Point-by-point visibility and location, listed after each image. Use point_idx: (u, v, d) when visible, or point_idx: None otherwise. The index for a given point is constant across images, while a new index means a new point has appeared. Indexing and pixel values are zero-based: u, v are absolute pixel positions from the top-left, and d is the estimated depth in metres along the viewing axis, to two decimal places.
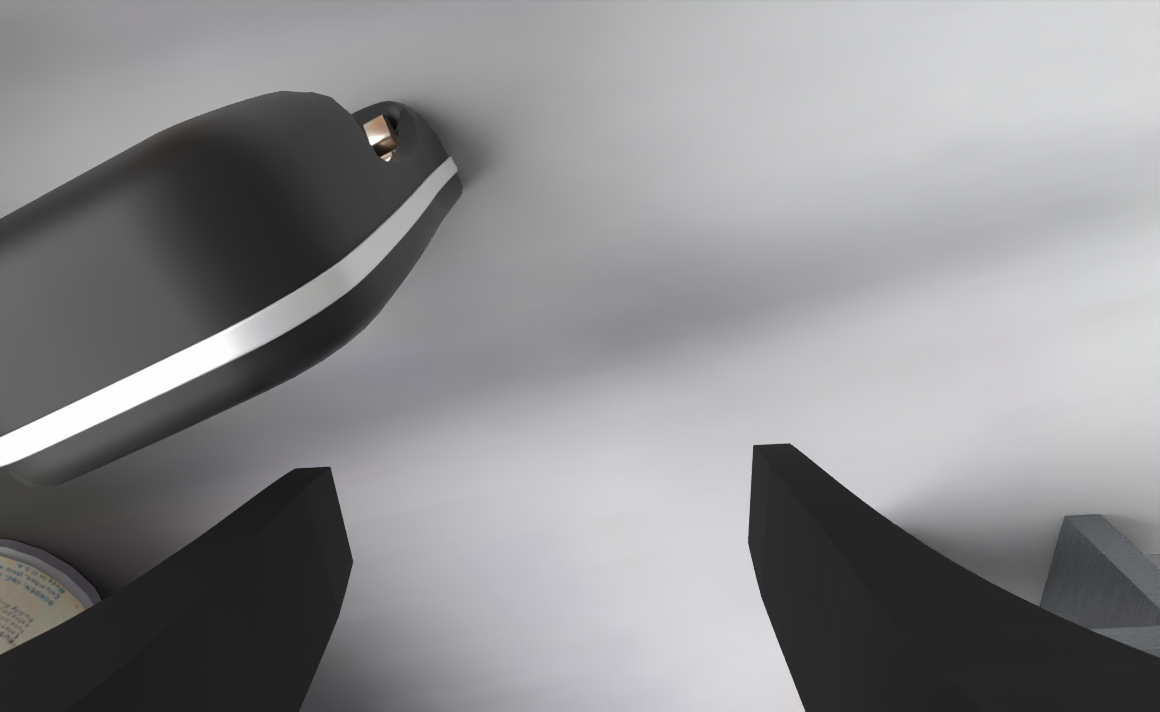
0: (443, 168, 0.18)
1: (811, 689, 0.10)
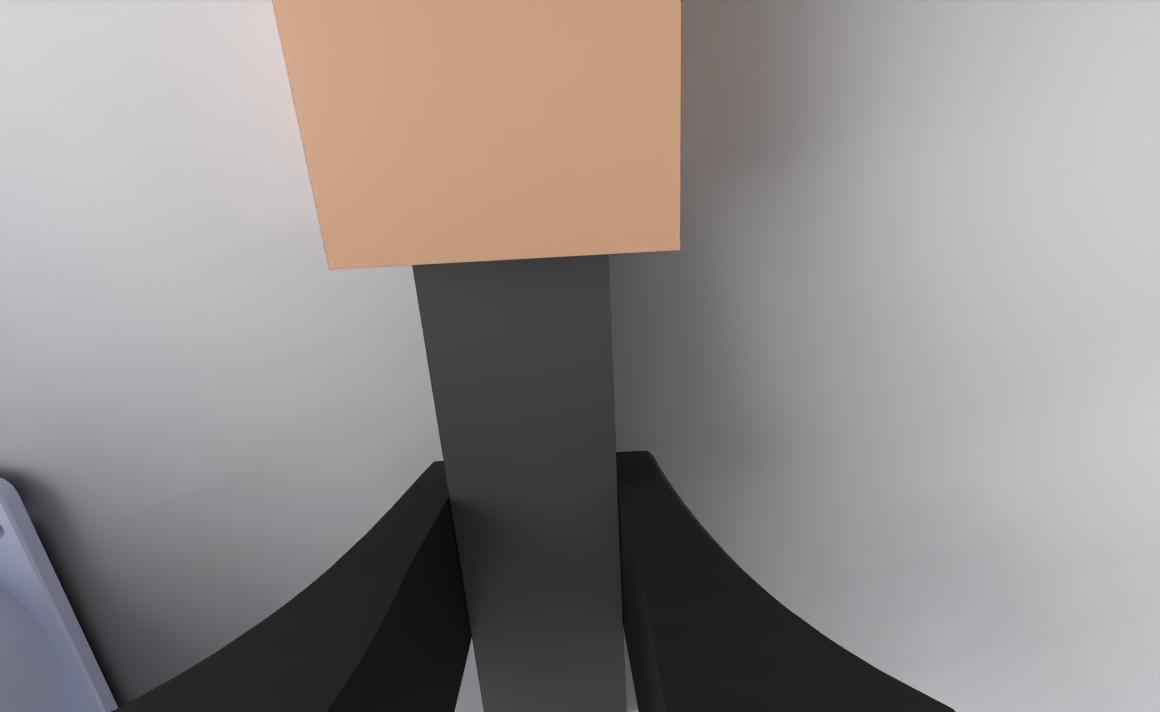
0: None
1: (640, 697, 0.10)
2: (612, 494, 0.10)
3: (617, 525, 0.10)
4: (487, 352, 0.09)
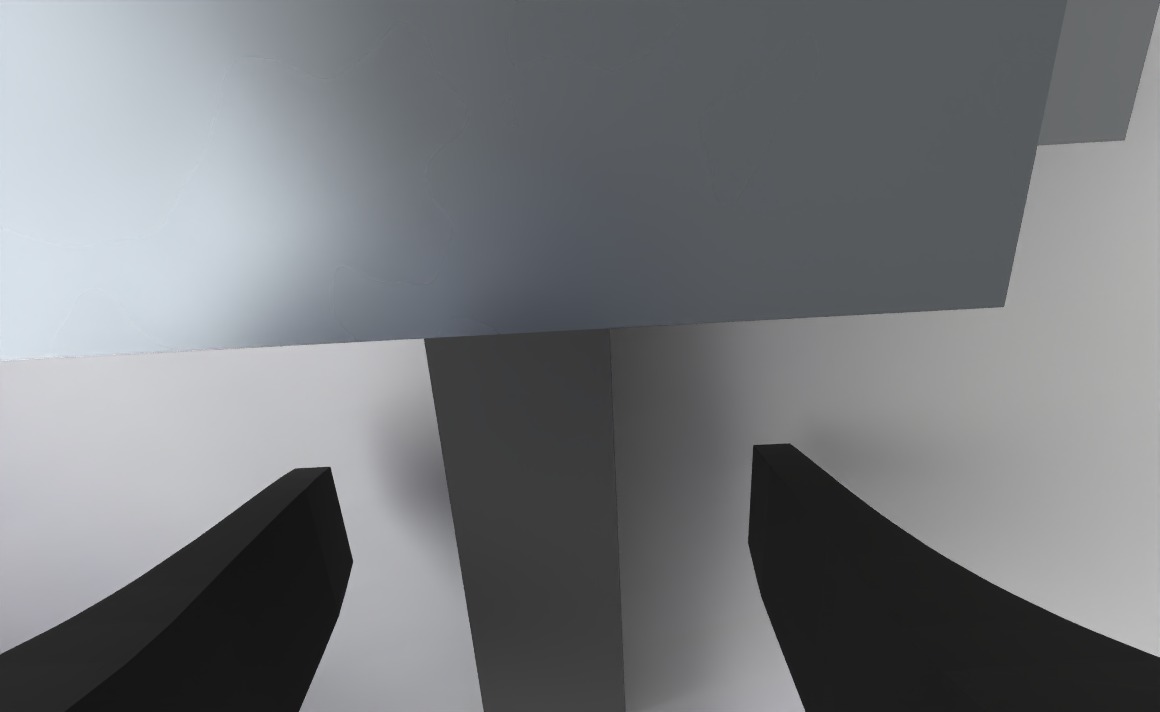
0: None
1: (811, 689, 0.10)
2: (611, 503, 0.10)
3: (616, 533, 0.10)
4: (488, 364, 0.09)
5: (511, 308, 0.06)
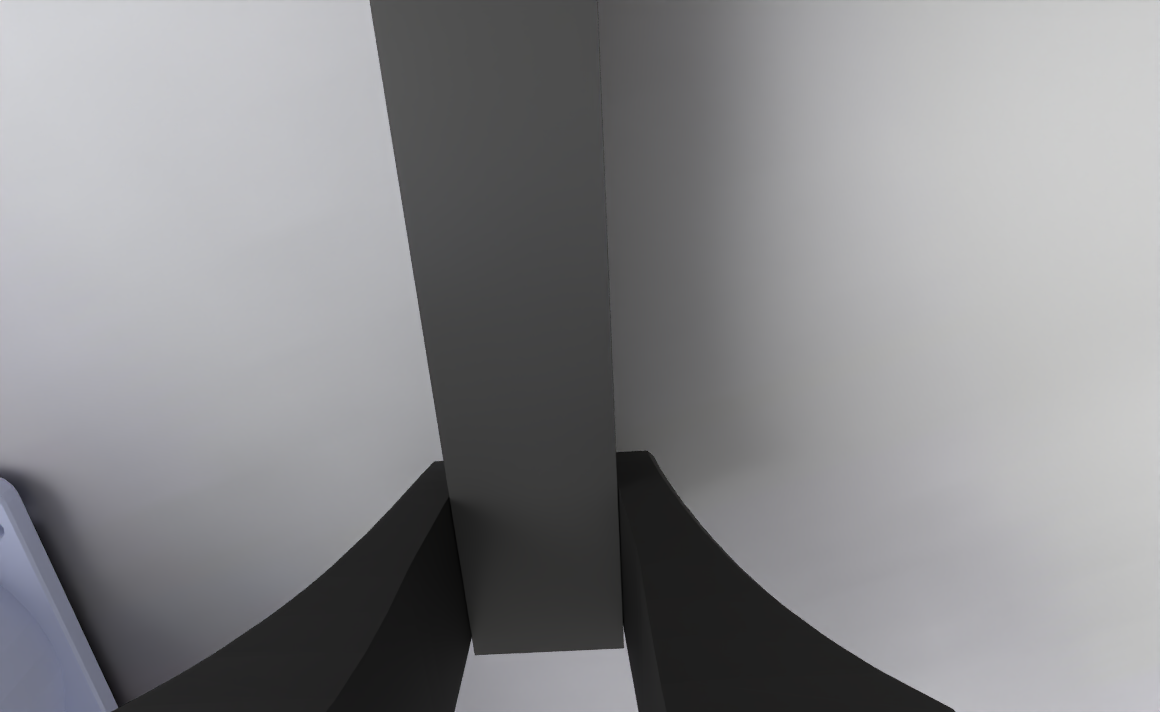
0: None
1: (640, 696, 0.10)
2: (594, 99, 0.08)
3: (601, 153, 0.08)
4: None
5: None
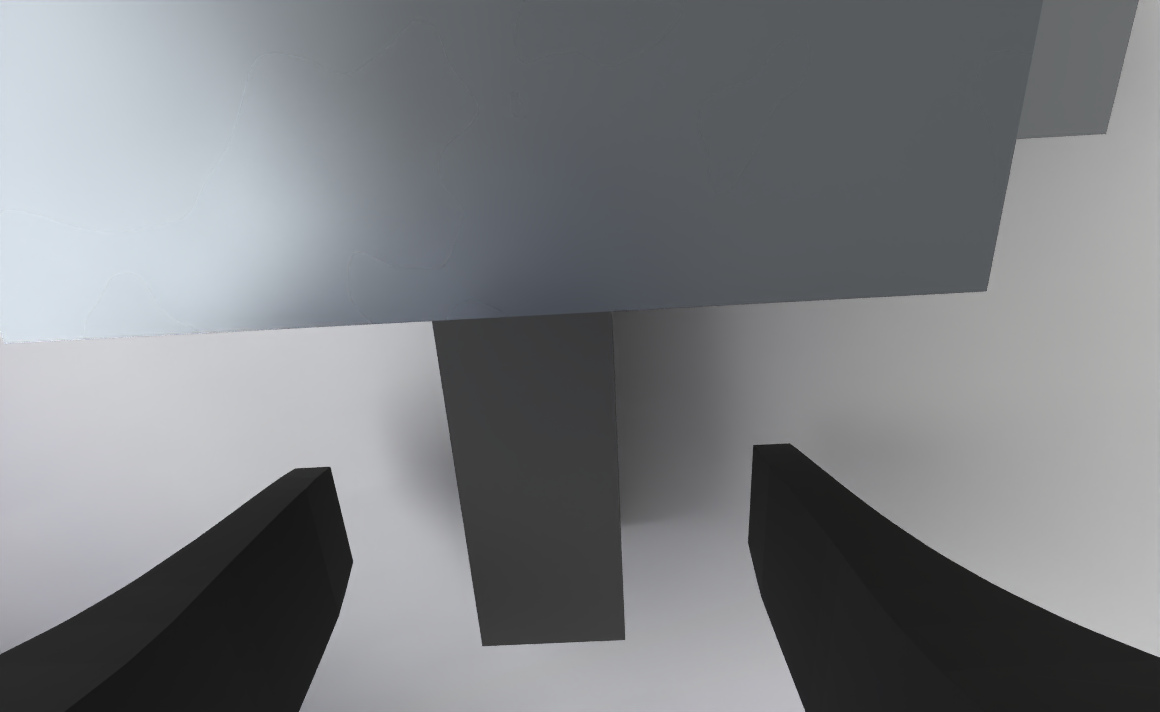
0: None
1: (811, 689, 0.10)
2: None
3: None
4: None
5: (519, 291, 0.06)
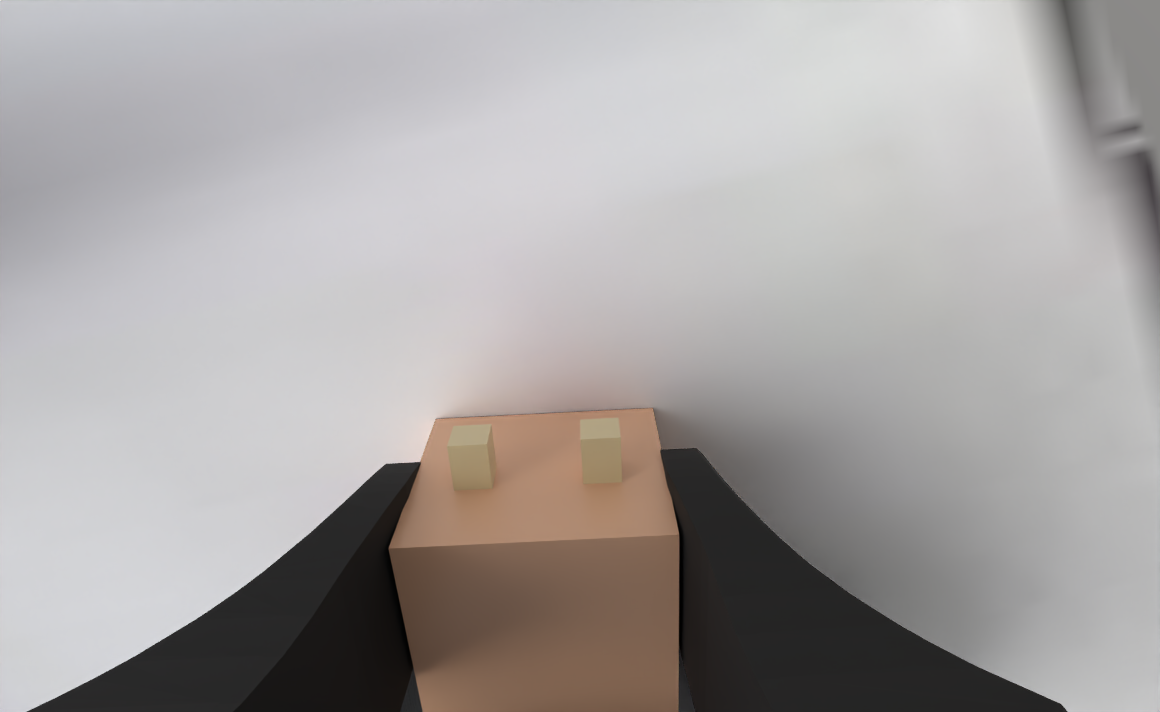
0: None
1: (698, 694, 0.10)
2: None
3: None
4: None
5: None
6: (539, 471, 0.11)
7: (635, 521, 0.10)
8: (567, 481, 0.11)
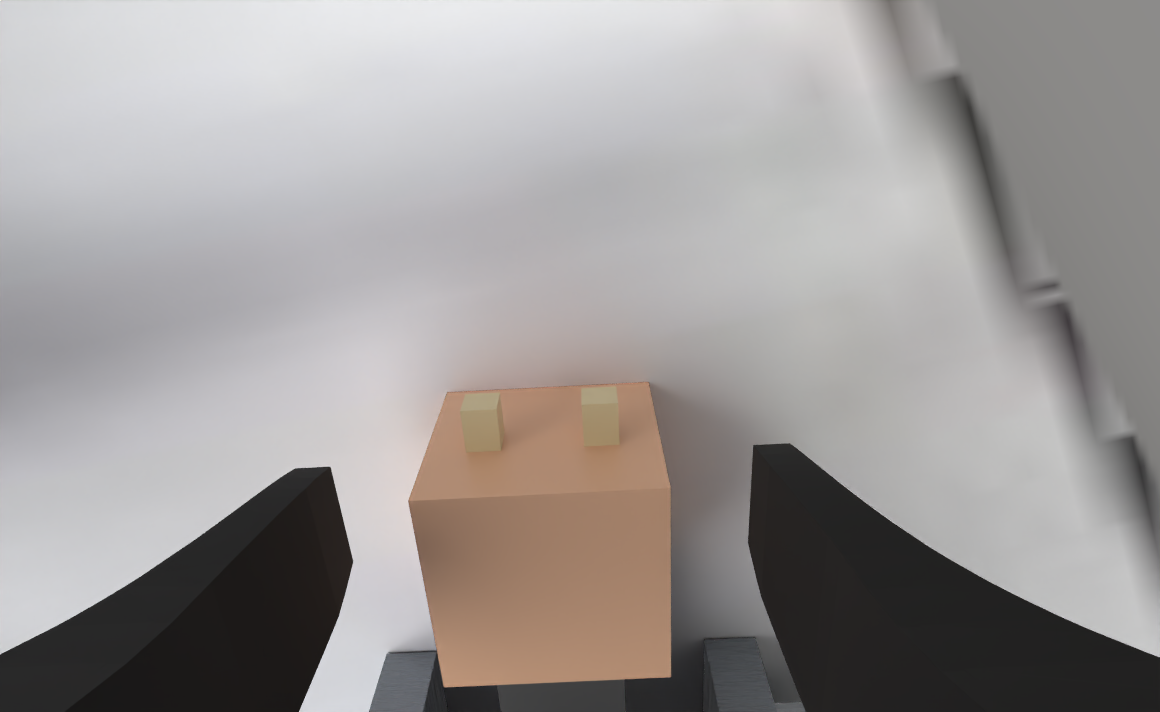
0: None
1: (811, 689, 0.10)
2: None
3: None
4: (541, 709, 0.13)
5: None
6: (543, 436, 0.12)
7: (630, 476, 0.11)
8: (569, 444, 0.12)
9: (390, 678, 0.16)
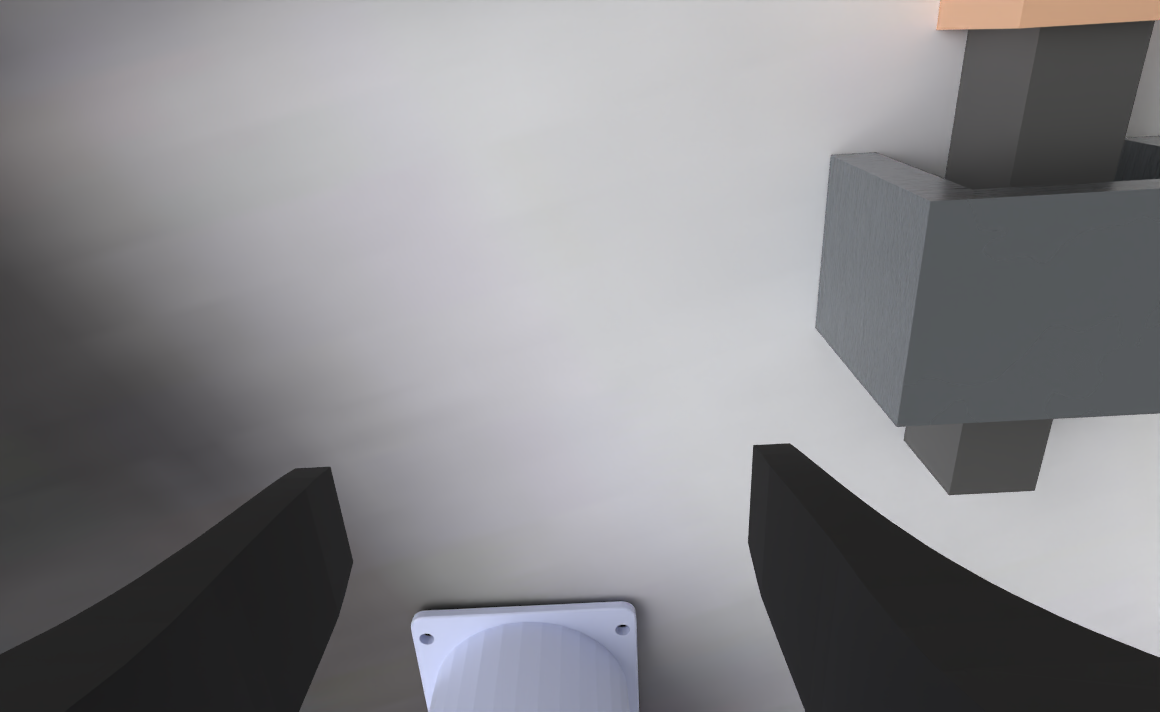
0: None
1: (811, 689, 0.10)
2: None
3: None
4: (1063, 94, 0.15)
5: (1113, 406, 0.15)
6: None
7: None
8: None
9: (849, 158, 0.18)
